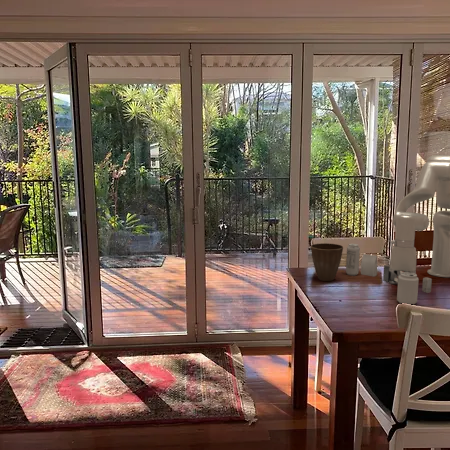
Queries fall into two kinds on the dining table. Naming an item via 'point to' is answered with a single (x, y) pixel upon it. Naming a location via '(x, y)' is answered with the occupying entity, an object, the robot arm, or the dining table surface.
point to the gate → (394, 276)
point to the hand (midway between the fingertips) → (401, 285)
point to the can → (407, 288)
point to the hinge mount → (388, 275)
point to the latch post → (427, 285)
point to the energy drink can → (352, 259)
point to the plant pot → (326, 260)
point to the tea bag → (369, 265)
